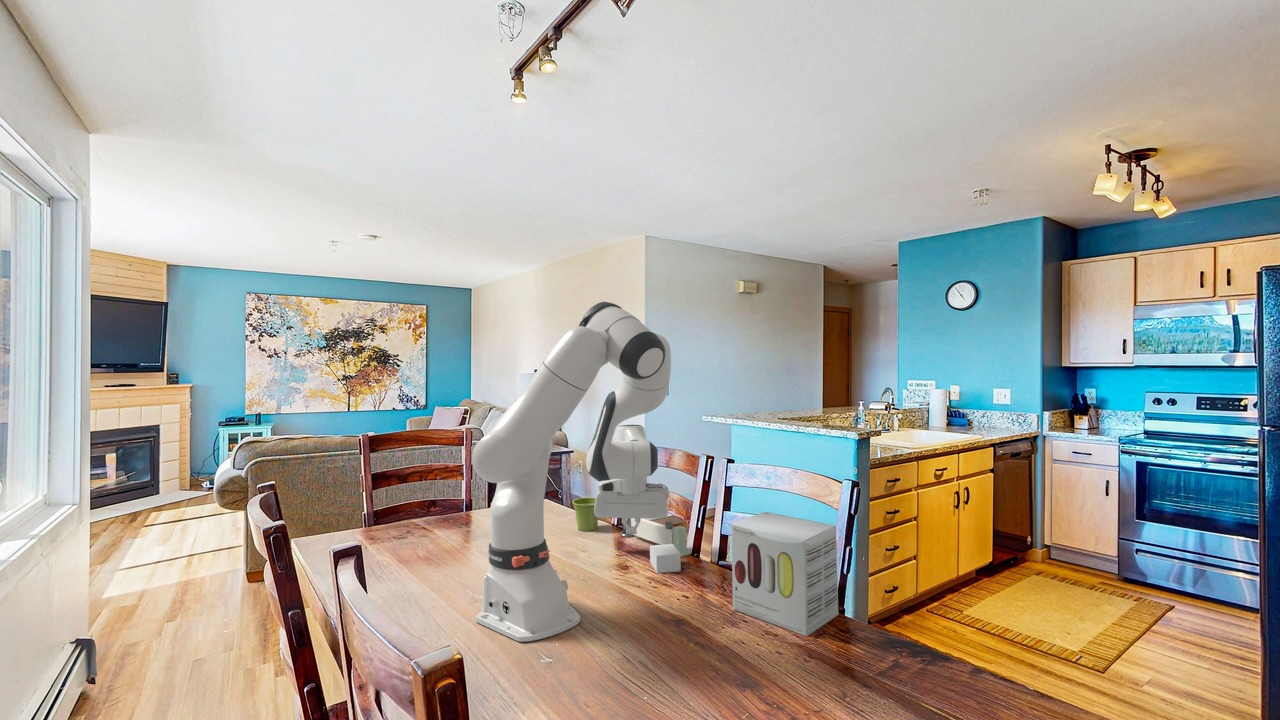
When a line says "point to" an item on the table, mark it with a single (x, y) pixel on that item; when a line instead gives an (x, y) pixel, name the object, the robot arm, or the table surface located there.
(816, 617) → the supplement box
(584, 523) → the plant pot
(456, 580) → the table surface
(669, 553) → the light grey block
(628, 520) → the hinge post
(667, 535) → the gate
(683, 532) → the post
